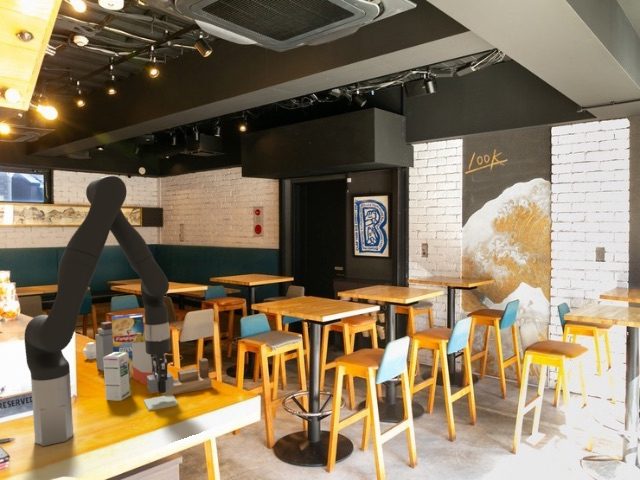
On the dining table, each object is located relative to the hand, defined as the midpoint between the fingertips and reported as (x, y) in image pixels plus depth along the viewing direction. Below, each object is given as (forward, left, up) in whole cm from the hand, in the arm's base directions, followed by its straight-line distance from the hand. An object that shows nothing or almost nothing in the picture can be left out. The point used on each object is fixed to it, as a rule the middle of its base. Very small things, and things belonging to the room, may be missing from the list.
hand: (160, 389), depth 161 cm
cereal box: (+37, +4, -4) cm, 37 cm away
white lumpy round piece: (+69, +15, -4) cm, 71 cm away
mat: (0, 0, -4) cm, 4 cm away
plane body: (+9, -10, -4) cm, 14 cm away
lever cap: (0, 0, 0) cm, 0 cm away
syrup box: (+13, +11, -4) cm, 17 cm away
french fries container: (+25, -1, -4) cm, 25 cm away
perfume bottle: (+50, +10, -4) cm, 51 cm away
